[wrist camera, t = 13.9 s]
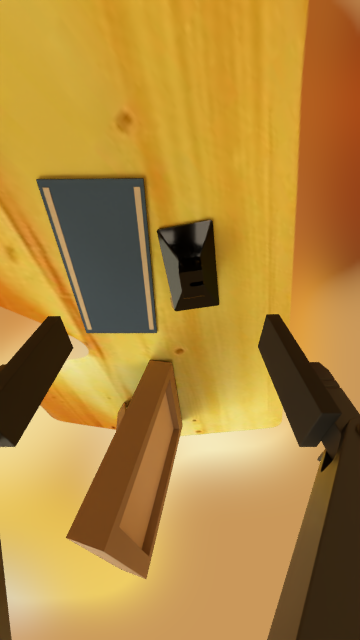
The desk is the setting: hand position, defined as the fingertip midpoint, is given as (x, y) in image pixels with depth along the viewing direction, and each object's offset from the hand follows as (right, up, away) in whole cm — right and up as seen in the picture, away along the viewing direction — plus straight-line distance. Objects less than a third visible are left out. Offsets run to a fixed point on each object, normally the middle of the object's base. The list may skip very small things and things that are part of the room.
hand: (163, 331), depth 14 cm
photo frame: (-7, -16, +33) cm, 38 cm away
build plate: (+3, +8, +17) cm, 18 cm away
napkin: (-9, +8, +16) cm, 20 cm away
